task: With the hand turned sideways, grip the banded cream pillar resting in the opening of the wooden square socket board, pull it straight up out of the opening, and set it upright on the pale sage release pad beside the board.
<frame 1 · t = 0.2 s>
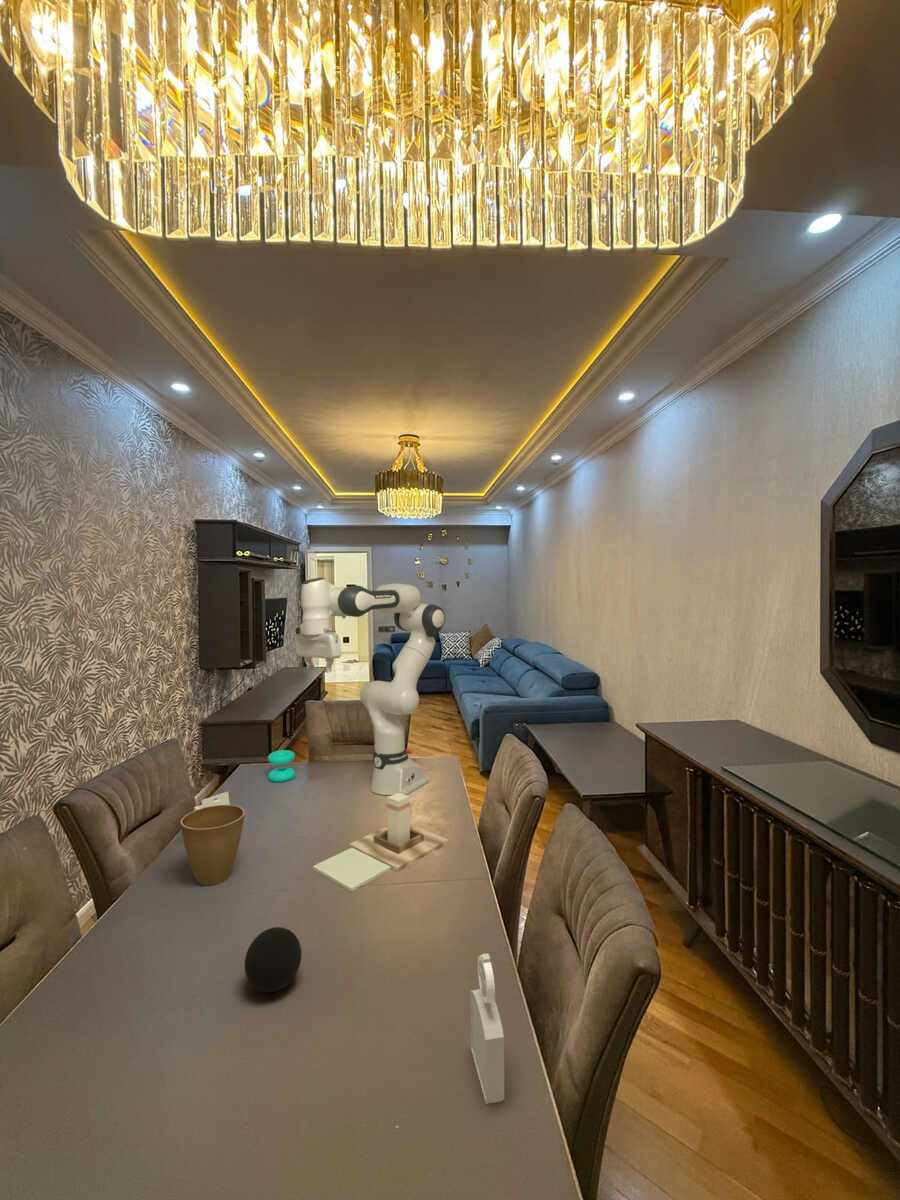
hand: (319, 671, 170), 47 cm above the table, tool pointing down, fingers open, 8 cm apart
decorative ball: (273, 986, 98), on the table
release pad: (351, 869, 139), on the table
plant pot: (214, 878, 135), on the table
banded cream pillar: (398, 821, 151), in the wooden square socket board
ink cartridge box: (212, 844, 153), on the table
donuts: (281, 779, 206), on the table
grey block with loop: (486, 1074, 80), on the table
wooden square socket board: (398, 845, 151), on the table
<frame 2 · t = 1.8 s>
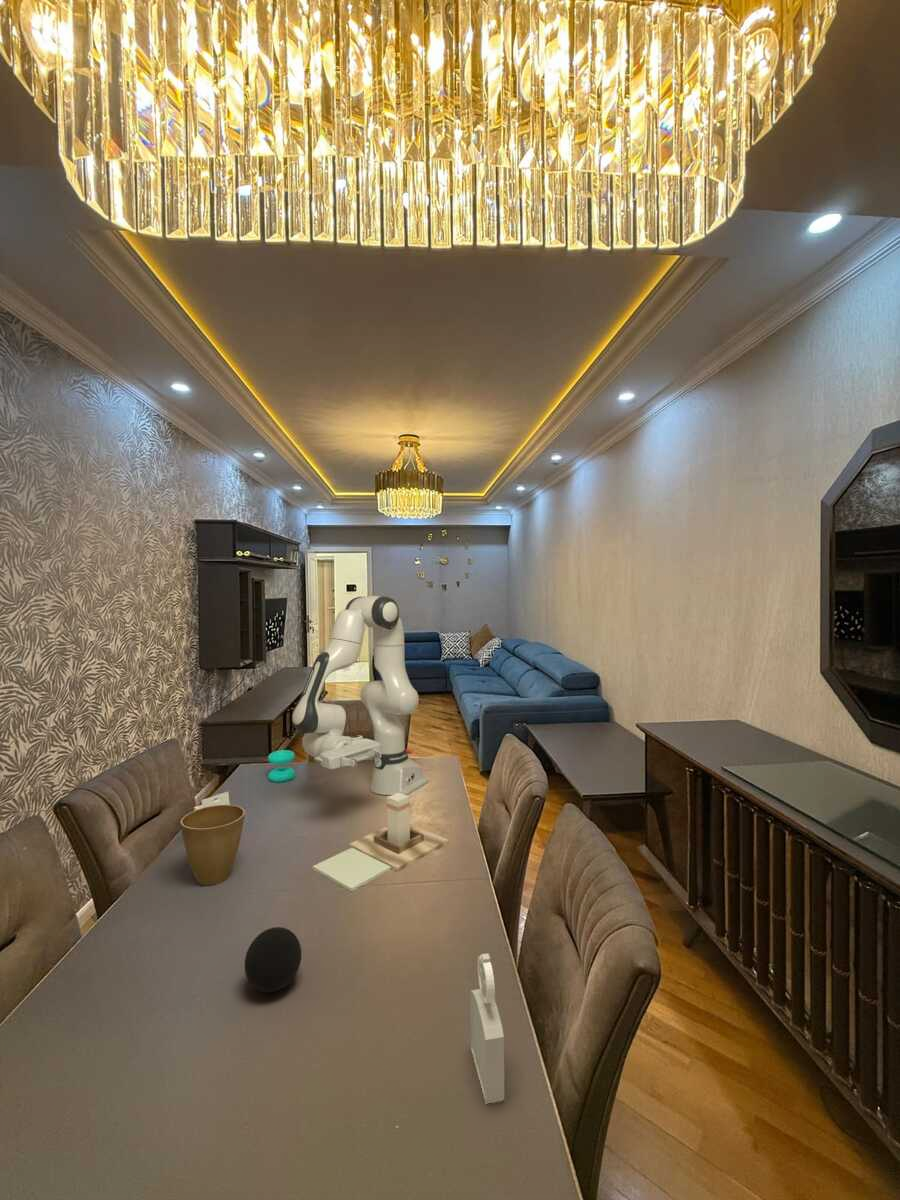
hand: (367, 759, 159), 22 cm above the table, tool horizontal, fingers open, 8 cm apart
nothing on the table moved.
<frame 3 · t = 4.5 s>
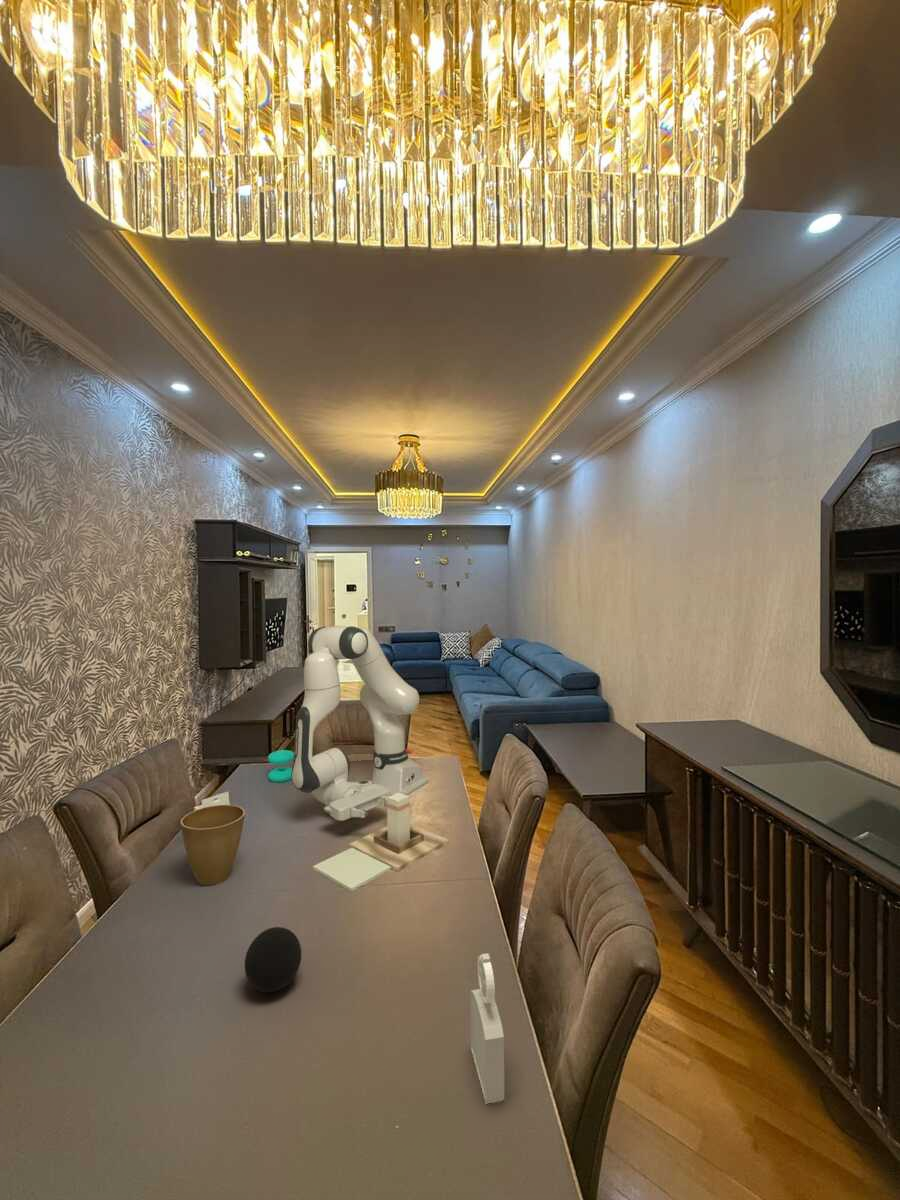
hand: (377, 809, 157), 8 cm above the table, tool horizontal, fingers open, 8 cm apart
nothing on the table moved.
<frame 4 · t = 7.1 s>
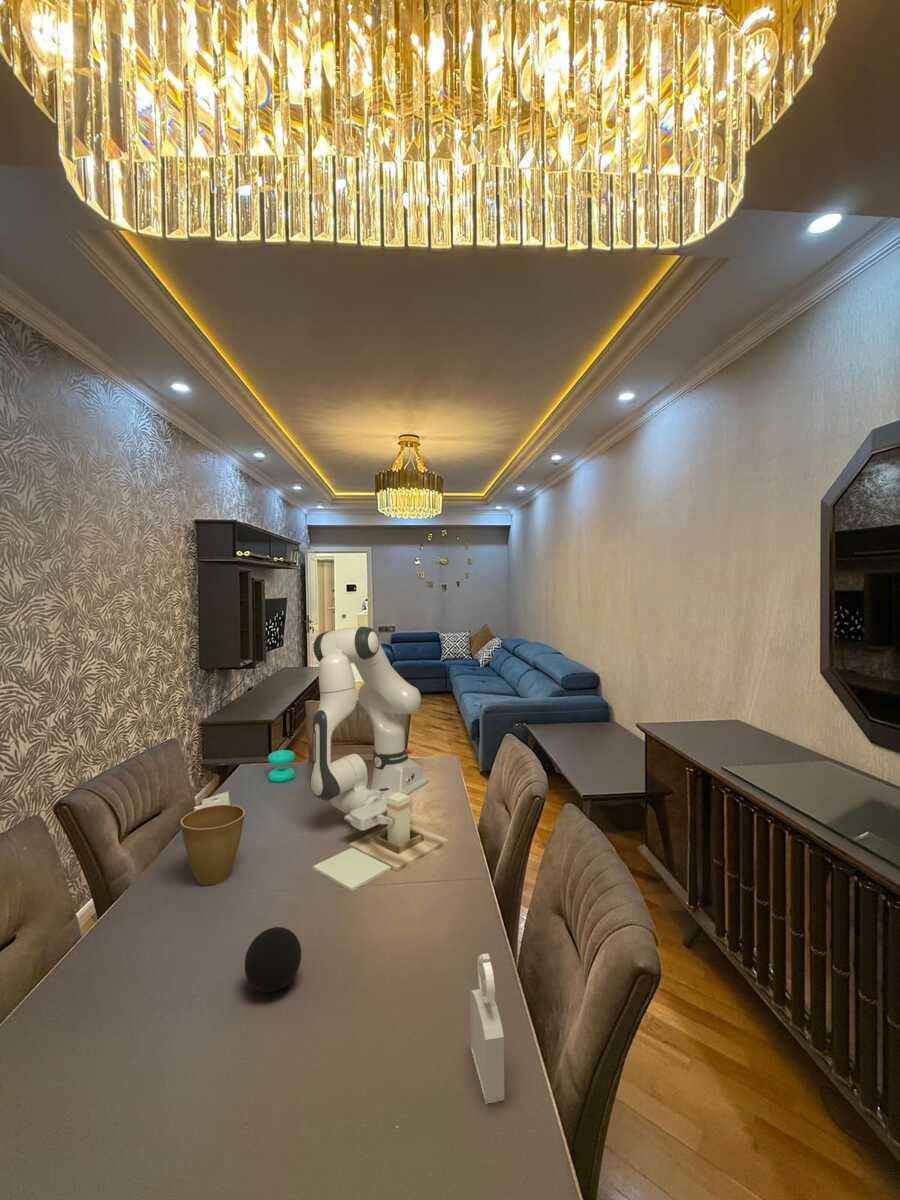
hand: (400, 818, 151), 8 cm above the table, tool horizontal, fingers closed on banded cream pillar, 4 cm apart
banded cream pillar: (398, 821, 151), in the wooden square socket board, touching gripper
everything else where it was.
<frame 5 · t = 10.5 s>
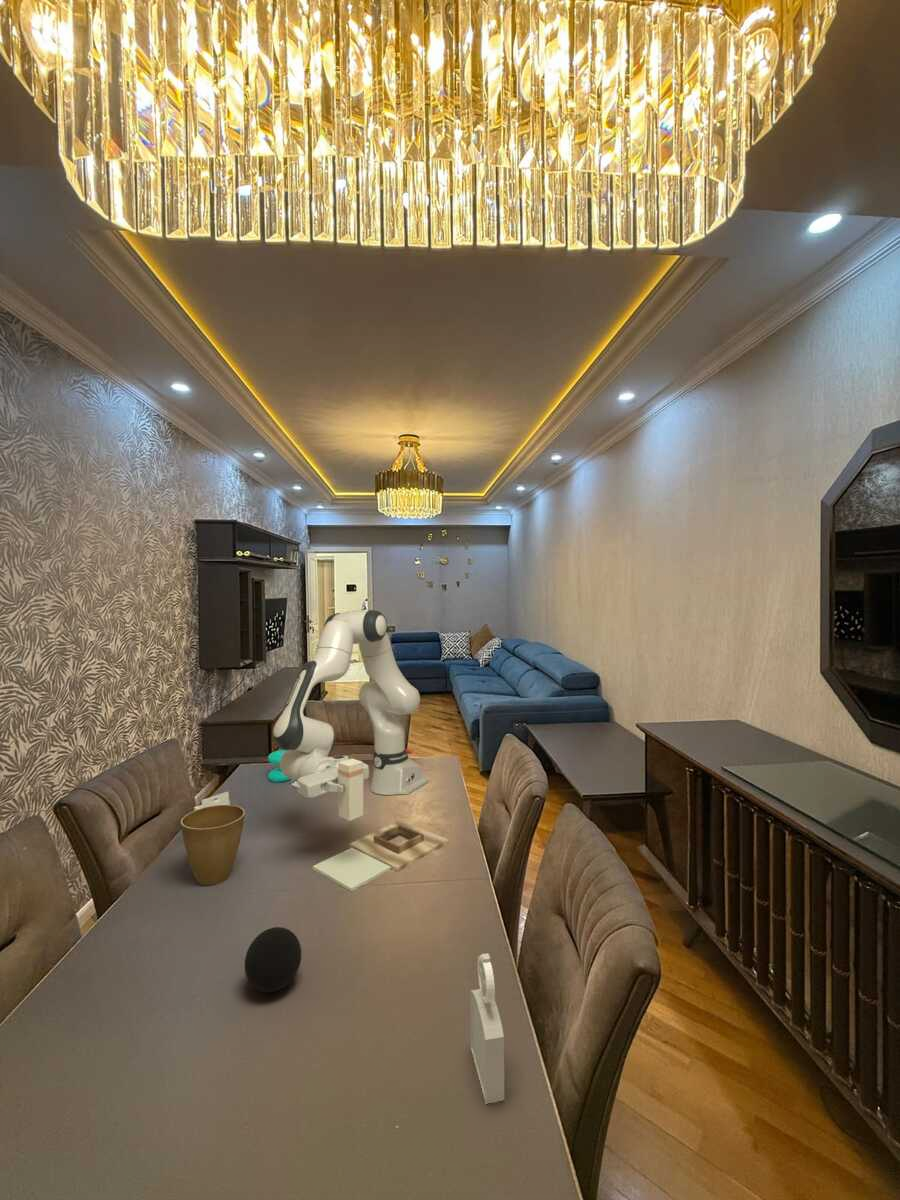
hand: (352, 785, 137), 22 cm above the table, tool horizontal, fingers closed on banded cream pillar, 4 cm apart
banded cream pillar: (350, 788, 138), point 21 cm above the table, touching gripper
everything else where it was.
when the fingers open (10 cm above the table, at t = 14.1 s): banded cream pillar drops 2 cm, resting on release pad.
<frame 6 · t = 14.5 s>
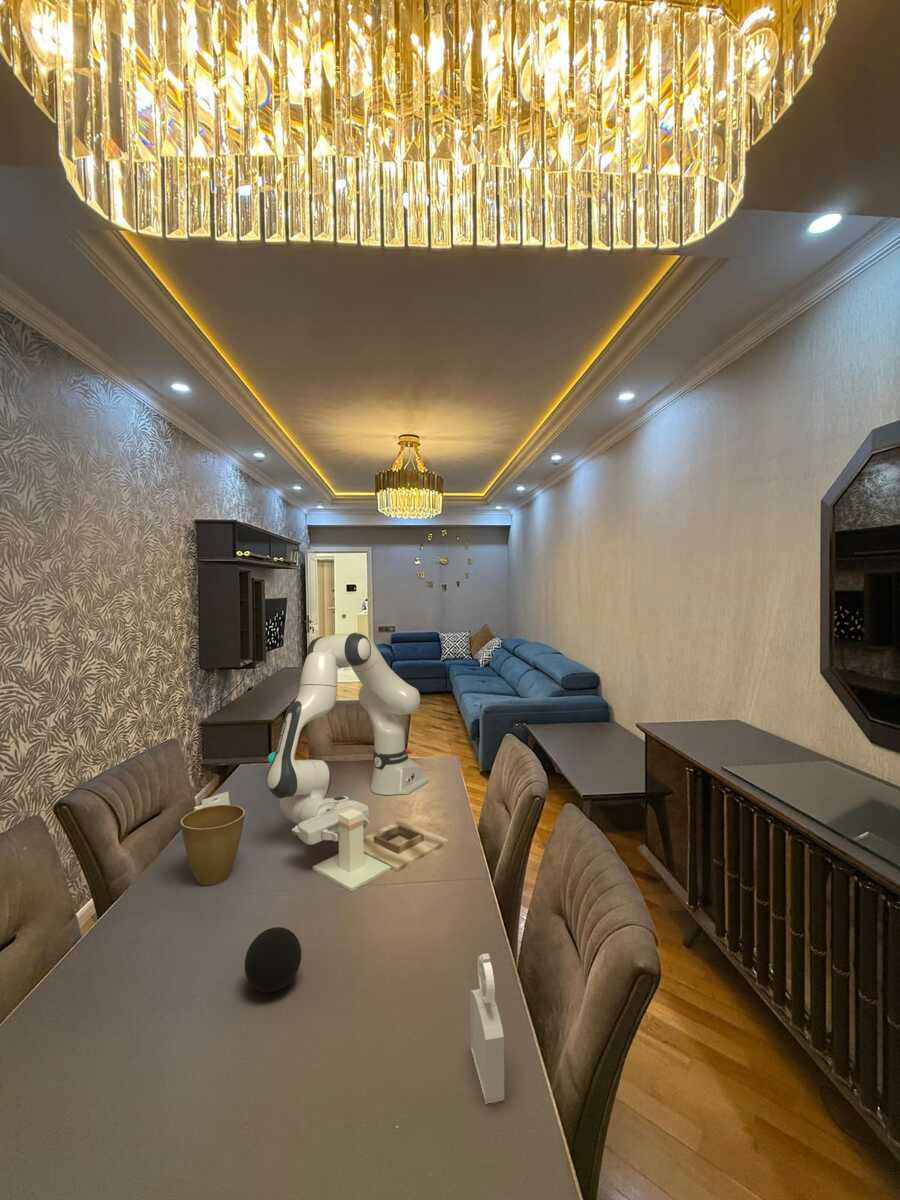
hand: (353, 830, 138), 10 cm above the table, tool horizontal, fingers open, 8 cm apart
banded cream pillar: (351, 840, 138), on the release pad, point 8 cm above the table
everything else where it was.
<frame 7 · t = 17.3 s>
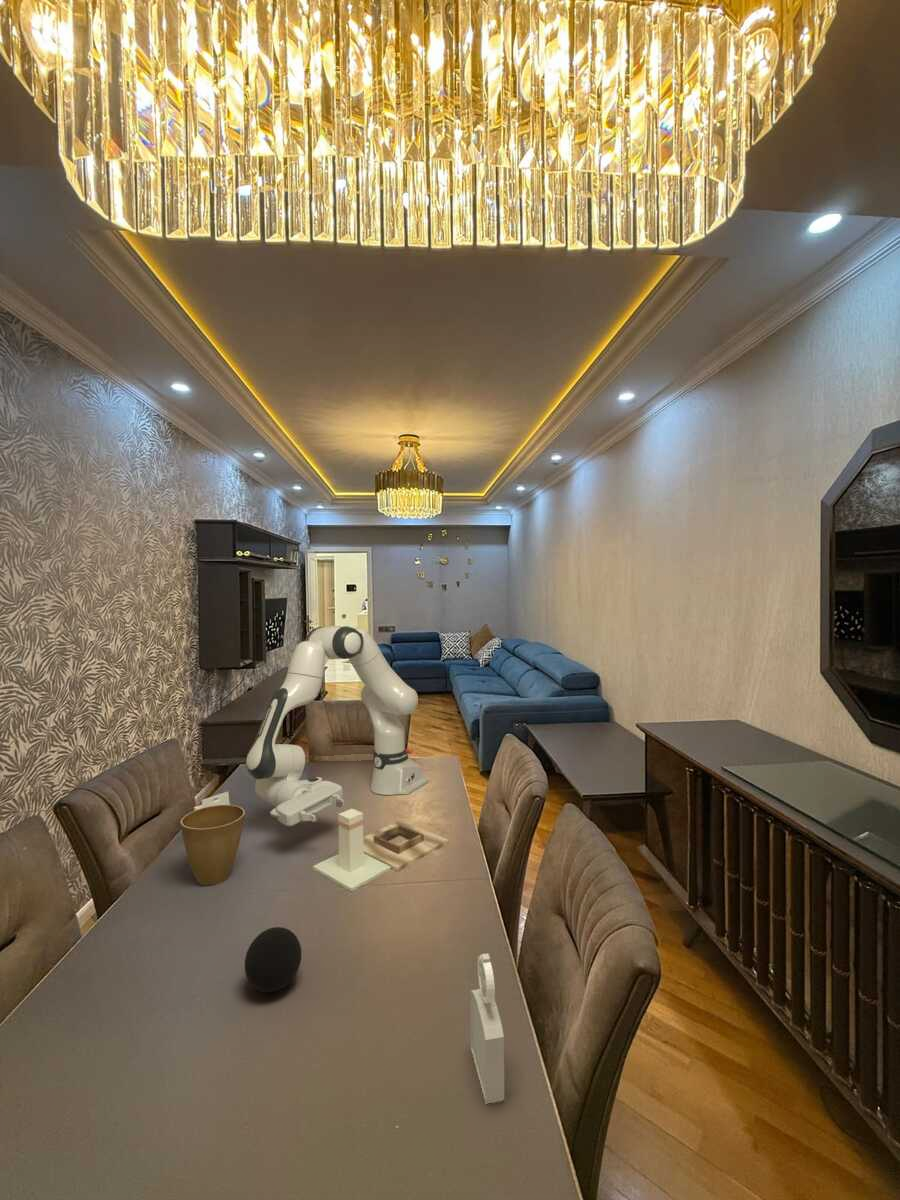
hand: (329, 810, 147), 12 cm above the table, tool horizontal, fingers open, 8 cm apart
nothing on the table moved.
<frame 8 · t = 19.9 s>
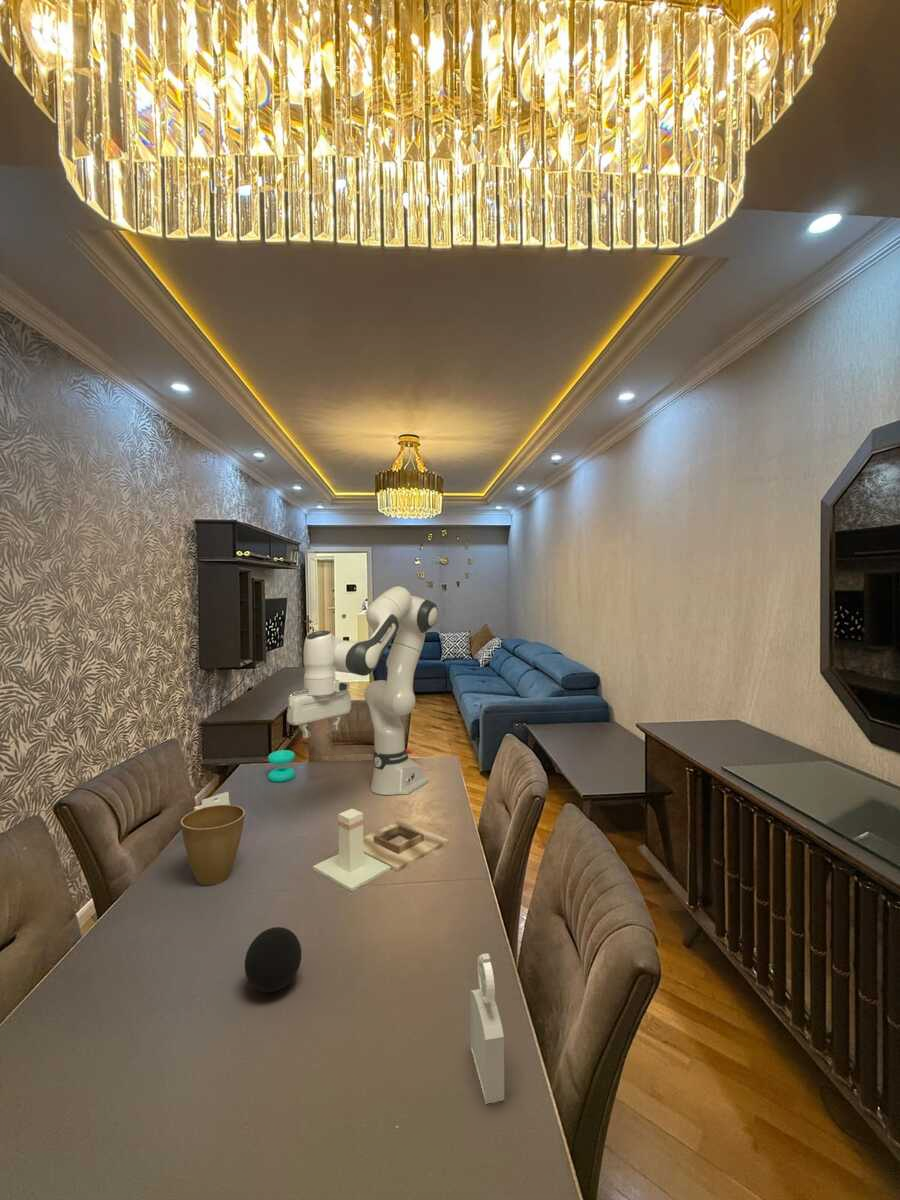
hand: (320, 734, 155), 31 cm above the table, tool pointing down, fingers open, 8 cm apart
nothing on the table moved.
at the end: banded cream pillar inside the target area on the release pad (0.1 cm from its centre), point 7.8 cm above the release pad's base; banded cream pillar tilted 0°; banded cream pillar touching release pad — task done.
